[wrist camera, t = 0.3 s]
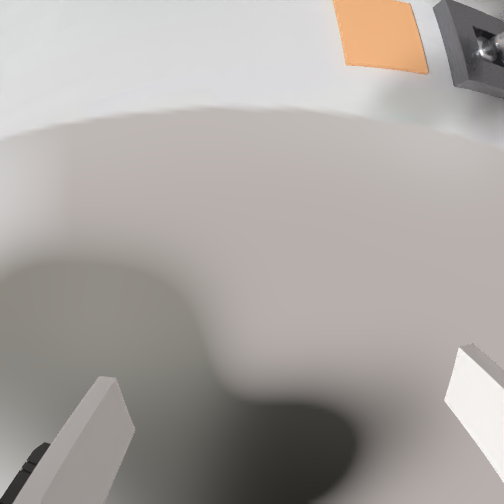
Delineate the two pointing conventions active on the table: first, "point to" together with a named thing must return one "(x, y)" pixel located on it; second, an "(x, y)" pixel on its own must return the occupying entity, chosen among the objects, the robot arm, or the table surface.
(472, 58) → the block
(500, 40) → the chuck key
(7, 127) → the table surface
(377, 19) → the key mat
